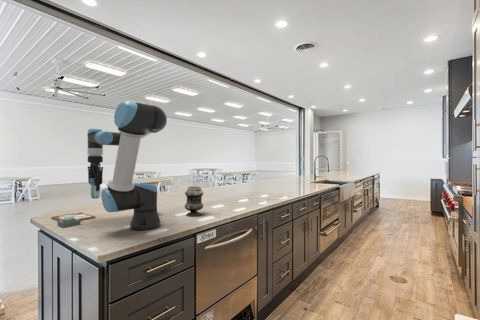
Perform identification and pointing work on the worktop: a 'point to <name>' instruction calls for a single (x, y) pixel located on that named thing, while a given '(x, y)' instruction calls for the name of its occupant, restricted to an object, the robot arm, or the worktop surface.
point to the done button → (68, 218)
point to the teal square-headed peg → (92, 187)
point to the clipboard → (76, 215)
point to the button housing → (68, 223)
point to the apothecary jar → (194, 201)
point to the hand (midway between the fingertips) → (95, 196)
